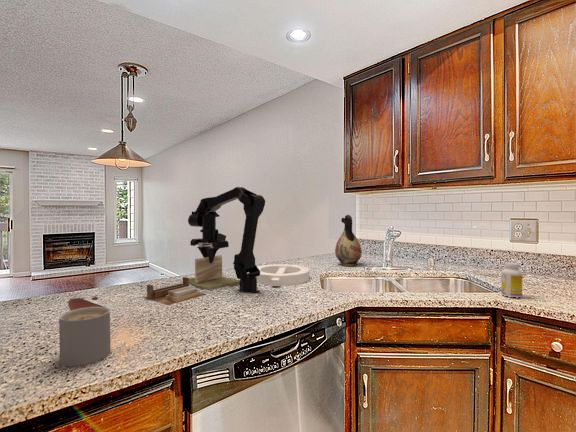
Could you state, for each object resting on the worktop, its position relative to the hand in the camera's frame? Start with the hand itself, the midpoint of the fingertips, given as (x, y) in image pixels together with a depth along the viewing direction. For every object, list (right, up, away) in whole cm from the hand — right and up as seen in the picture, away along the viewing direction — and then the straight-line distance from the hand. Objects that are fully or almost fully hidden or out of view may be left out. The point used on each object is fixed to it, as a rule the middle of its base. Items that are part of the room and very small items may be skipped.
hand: (209, 262), depth 142 cm
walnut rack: (-8, -11, -20) cm, 24 cm away
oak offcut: (-4, -10, -22) cm, 25 cm away
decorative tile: (0, -11, +1) cm, 11 cm away
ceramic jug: (+70, -9, +50) cm, 87 cm away
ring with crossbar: (+31, -10, +15) cm, 35 cm away
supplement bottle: (+121, -11, -16) cm, 123 cm away
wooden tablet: (-34, -12, -31) cm, 48 cm away
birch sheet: (0, -8, 0) cm, 8 cm away
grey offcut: (-4, -8, -22) cm, 24 cm away
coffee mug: (-13, -12, -65) cm, 67 cm away
